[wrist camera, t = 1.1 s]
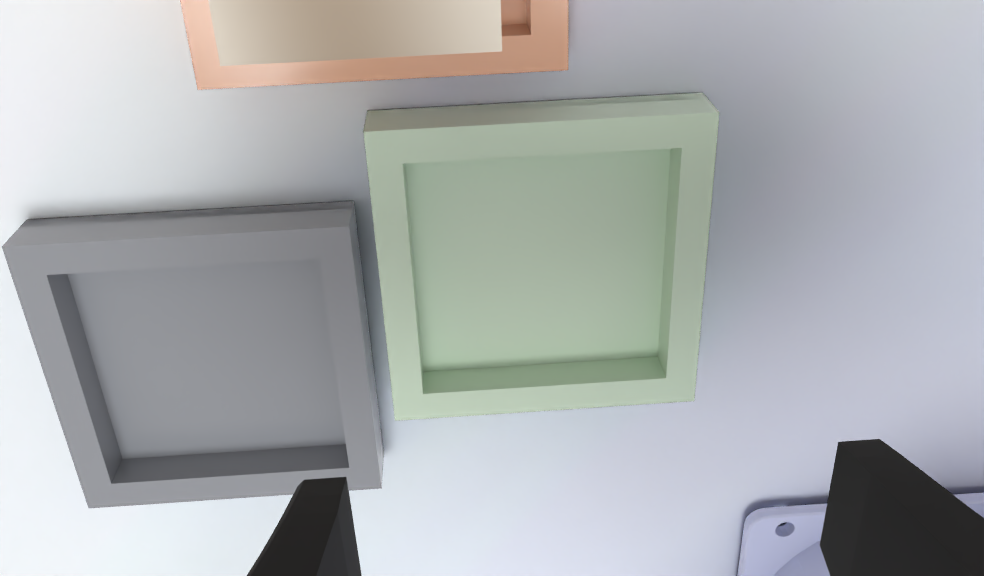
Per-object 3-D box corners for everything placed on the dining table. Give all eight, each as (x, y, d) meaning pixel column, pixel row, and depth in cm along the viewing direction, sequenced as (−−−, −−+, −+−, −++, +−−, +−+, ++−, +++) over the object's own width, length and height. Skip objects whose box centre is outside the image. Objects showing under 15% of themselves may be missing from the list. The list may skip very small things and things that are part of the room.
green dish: (702, 92, 19) (719, 112, 18) (680, 369, 23) (693, 401, 21) (367, 110, 19) (363, 131, 18) (396, 388, 22) (394, 420, 21)
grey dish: (353, 201, 20) (349, 226, 19) (383, 453, 23) (381, 488, 22) (26, 219, 20) (1, 246, 19) (105, 472, 23) (88, 508, 22)
